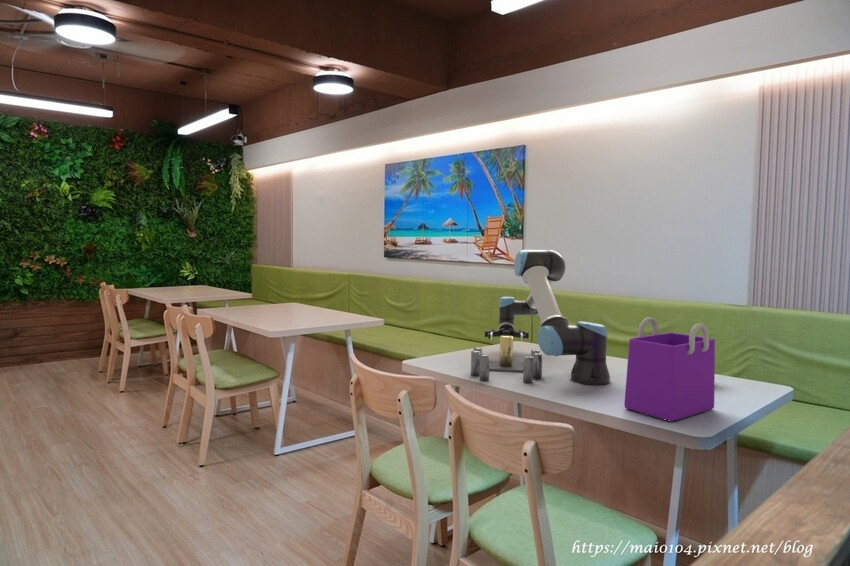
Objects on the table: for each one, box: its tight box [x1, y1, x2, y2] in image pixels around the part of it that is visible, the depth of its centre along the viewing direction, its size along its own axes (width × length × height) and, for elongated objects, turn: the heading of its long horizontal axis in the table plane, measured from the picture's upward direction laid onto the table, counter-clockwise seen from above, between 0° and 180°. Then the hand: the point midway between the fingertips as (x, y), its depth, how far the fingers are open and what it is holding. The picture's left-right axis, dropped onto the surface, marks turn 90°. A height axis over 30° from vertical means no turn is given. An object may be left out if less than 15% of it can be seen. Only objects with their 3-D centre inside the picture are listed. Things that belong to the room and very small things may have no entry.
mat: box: [489, 360, 524, 373], centre depth 239 cm, size 16×16×1 cm
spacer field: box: [470, 346, 543, 384], centre depth 222 cm, size 29×18×10 cm, turn 82°
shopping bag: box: [623, 316, 716, 422], centre depth 179 cm, size 28×22×30 cm
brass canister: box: [499, 335, 514, 367], centre depth 238 cm, size 6×6×13 cm
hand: (506, 337), depth 244 cm, fingers open, 13 cm apart
